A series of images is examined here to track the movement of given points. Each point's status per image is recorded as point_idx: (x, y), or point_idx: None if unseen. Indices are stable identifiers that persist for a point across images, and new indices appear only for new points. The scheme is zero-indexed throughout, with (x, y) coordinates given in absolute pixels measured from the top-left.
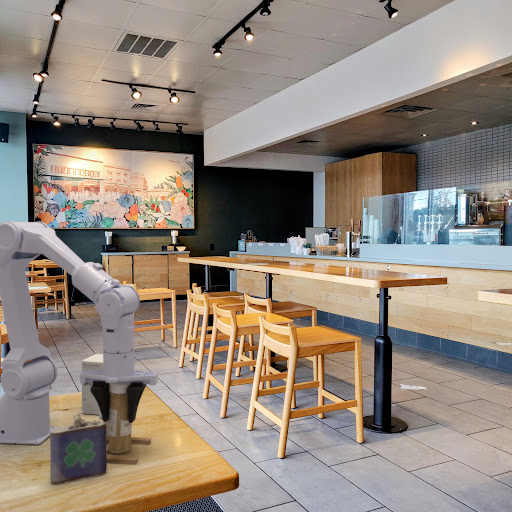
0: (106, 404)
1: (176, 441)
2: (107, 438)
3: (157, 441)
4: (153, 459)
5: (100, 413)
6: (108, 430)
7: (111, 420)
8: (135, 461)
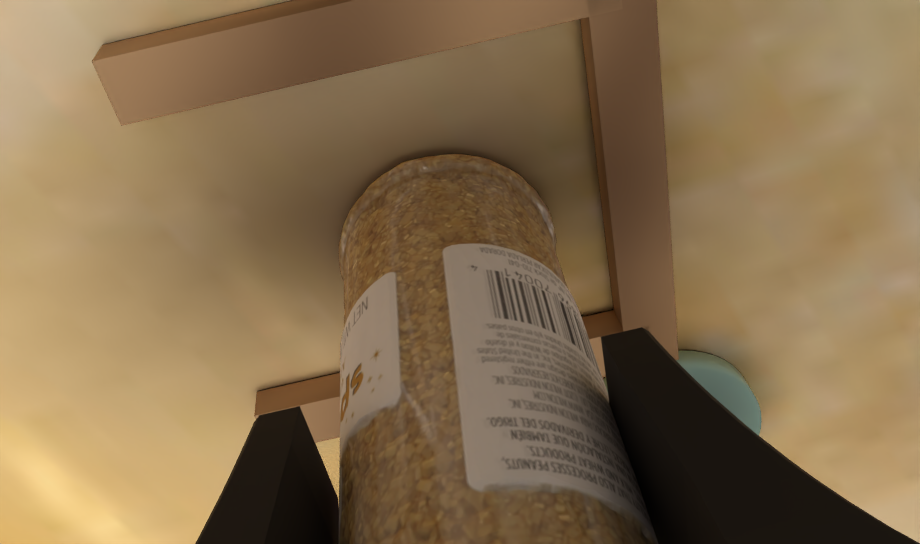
0: (689, 540)
1: (87, 496)
2: None
3: (233, 451)
4: (23, 190)
5: None
6: None
7: (535, 367)
8: (97, 53)
